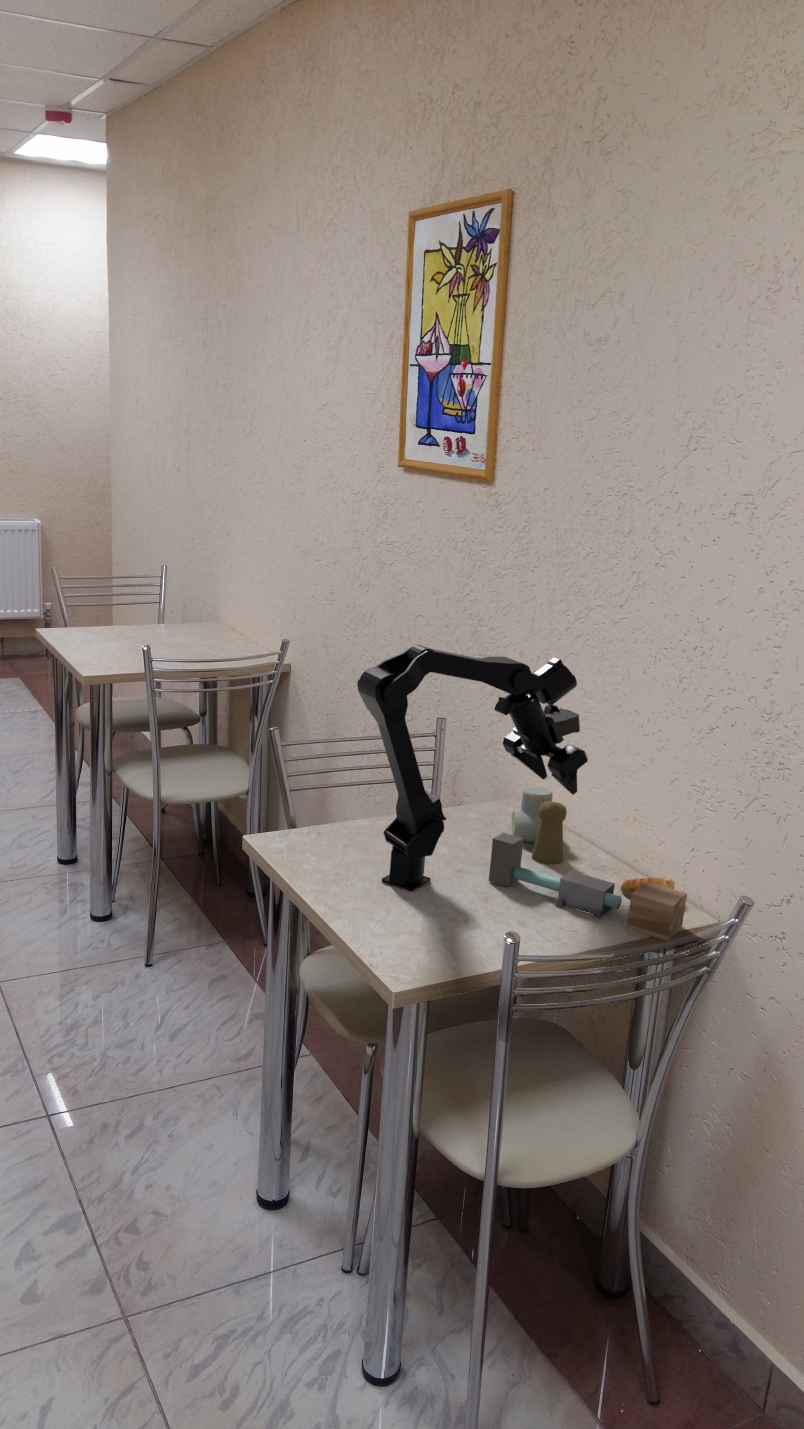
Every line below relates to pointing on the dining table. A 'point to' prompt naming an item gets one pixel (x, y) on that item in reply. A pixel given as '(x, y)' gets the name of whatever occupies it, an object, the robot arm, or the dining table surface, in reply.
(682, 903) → the socket block
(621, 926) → the dining table surface
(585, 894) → the sleeve
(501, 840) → the tube
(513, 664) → the robot arm
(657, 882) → the pastry
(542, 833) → the cork
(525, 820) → the air freshener
